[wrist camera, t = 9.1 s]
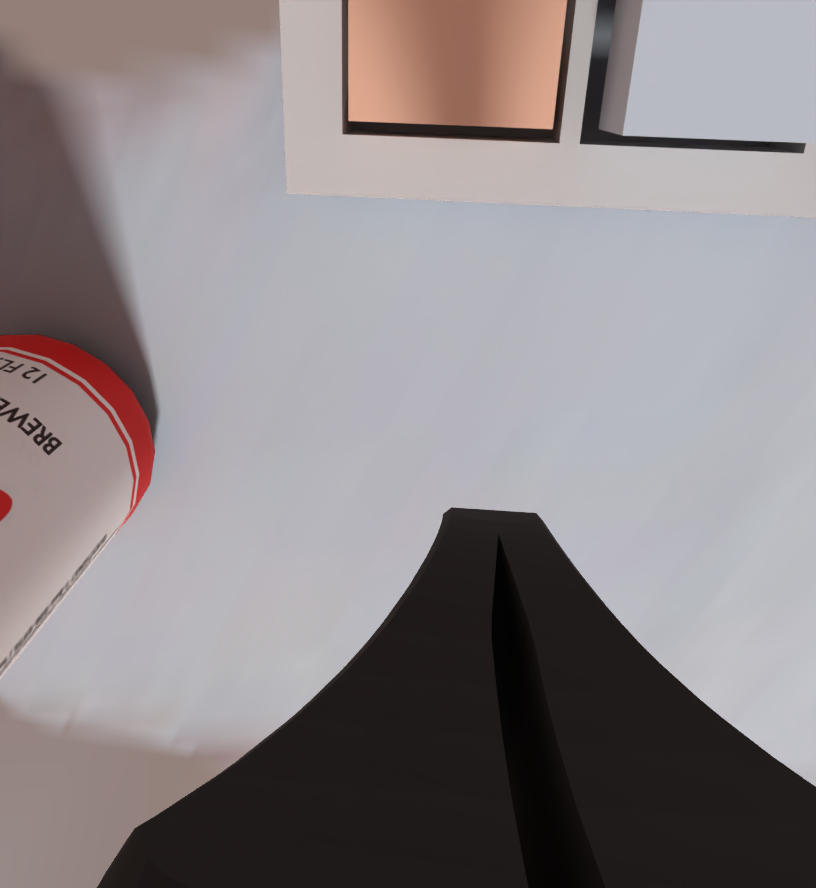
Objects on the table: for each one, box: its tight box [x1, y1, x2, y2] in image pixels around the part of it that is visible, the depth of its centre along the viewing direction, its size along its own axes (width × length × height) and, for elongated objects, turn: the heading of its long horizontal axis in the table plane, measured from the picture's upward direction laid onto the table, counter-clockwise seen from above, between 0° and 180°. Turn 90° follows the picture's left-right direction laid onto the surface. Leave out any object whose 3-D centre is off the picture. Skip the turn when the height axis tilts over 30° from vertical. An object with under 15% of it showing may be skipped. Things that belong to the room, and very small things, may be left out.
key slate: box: [599, 0, 816, 143], centre depth 12 cm, size 4×4×2 cm
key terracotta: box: [348, 0, 567, 129], centre depth 14 cm, size 4×4×2 cm
